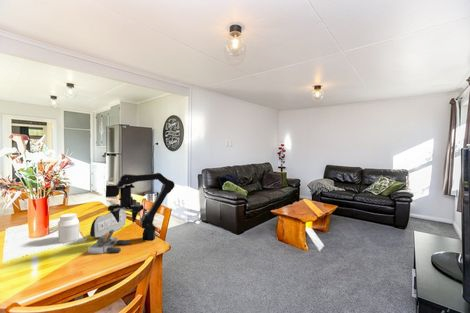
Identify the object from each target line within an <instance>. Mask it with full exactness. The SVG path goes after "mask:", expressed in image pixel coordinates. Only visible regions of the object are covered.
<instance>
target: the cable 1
mask: <svg viewBox="0 0 470 313" xmlns="http://www.w3.org/2000/svg"><path fill="white" fill-rule="evenodd" d="M121 250H122V247H114V246H113V247H109V248H107V251H106V252H107V253H120V252H121Z"/></svg>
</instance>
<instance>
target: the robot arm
mask: <svg viewBox="0 0 470 313" xmlns="http://www.w3.org/2000/svg"><path fill="white" fill-rule="evenodd" d="M155 180H158V181H159V183H161V184H162V185H161V188H160V192H159V194H158V195H157V197H156V199H155V201H154V202H153V204H152V205H151V207H150V209H149V210H148V212H147V213H143V215H142V217H141V218H140V222H139V223H140V226H141V228H142V229H143V230H142V231H143V232H142V242H153V241H154V240H155V239H156V238H155V237H156V228H157V227H156V226H155V224H154V220H155V216H156V214H157V212H158V210H159V209H160V207H161V206H162V204H163V203H164V200H165V198H166V197H167V196H168V194H169V193H171V192H172V191H173V189H174V188H175V187H176V186H175V182H174V181H173V180H170V179H168V178H167V177H165V176H164V175H163V174H162V173H161V172H155V173H145V174H130V173H124V174H121V175H120V177H119V181H118V182H117V183H116V184H113V185H112V184H111V185H110V184H107V185H105V198H116V197H118V196H120V197H119V198H118V201H119V202H120V203H119V204H118V203H113V204H111V205H108V206H107V212H109V213H110V212H111V213H112V214H113V216H114V217H115V219H116V221H117V222H119V212H120V209H124V210H131V211H132V212H131V220H132V223H133V224H134V223H135V221H136V218H137V217H138V216H137V215H138V214H139V212H141V211H143V210H144V205H143V204H137V200H136V199H133V196H132V189H134V188H136V187H135V185H133V184H134V183H137V182H145V181H146V182H147V181H155Z"/></svg>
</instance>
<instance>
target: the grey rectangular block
mask: <svg viewBox="0 0 470 313" xmlns="http://www.w3.org/2000/svg"><path fill="white" fill-rule="evenodd" d="M109 233H110V235H109V236H108V238H107V239H109V238H112V235H113V234H114V233H115V232H114V230H111V231H110V232H109Z"/></svg>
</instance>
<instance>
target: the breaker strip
mask: <svg viewBox="0 0 470 313" xmlns="http://www.w3.org/2000/svg"><path fill="white" fill-rule="evenodd" d="M118 240H119V239H118V237H111V238H109V239H107V240H106V241H104V242H103V243H101V244H100V245H98V246H96V245H95V244H96V243H97V241H96V242H95V243H93V244H92V245H90V246H88V247H87V254H92V255H93V254H94V255H95V254H99V255H100V254H101V255H103V254H105V253H106V252H107V248H109V247H114V246H115V245H118V244H117V241H118Z"/></svg>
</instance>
